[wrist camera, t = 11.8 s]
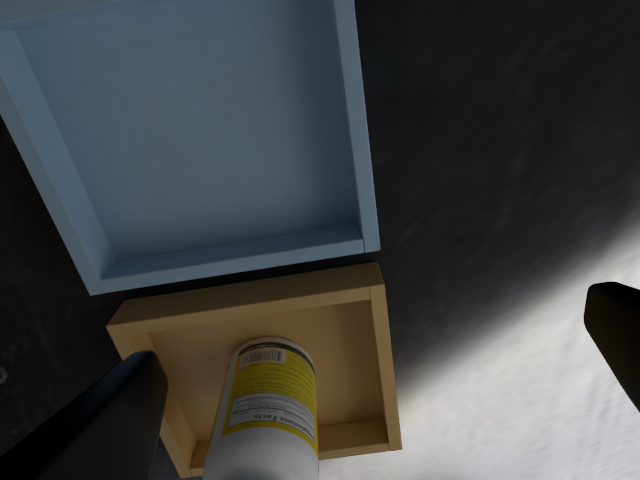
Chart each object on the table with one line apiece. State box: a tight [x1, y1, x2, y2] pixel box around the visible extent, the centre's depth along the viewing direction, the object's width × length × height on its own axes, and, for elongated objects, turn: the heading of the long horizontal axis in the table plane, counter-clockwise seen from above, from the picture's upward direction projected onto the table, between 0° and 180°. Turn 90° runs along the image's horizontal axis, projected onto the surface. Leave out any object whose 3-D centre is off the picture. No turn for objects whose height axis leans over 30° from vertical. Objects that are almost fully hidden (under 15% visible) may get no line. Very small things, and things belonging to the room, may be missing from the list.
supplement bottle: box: [203, 337, 319, 480], centre depth 20 cm, size 5×5×10 cm
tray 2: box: [106, 262, 402, 478], centre depth 24 cm, size 15×13×2 cm
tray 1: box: [0, 0, 380, 295], centre depth 18 cm, size 15×13×2 cm
